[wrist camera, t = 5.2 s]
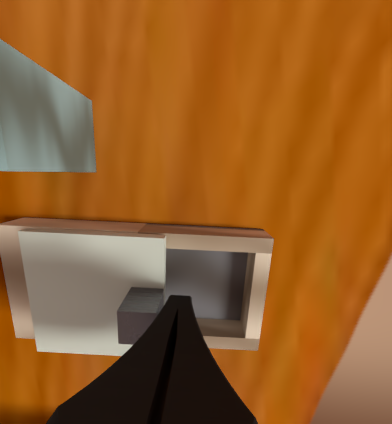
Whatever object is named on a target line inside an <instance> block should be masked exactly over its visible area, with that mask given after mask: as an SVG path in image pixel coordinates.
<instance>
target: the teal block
mask: <svg viewBox="0 0 392 424" xmlns="http://www.w3.org/2000/svg"><path fill="white" fill-rule="evenodd" d="M0 171H34V172H96V159H95V144H94V129H93V114H92V101H91V100H90V99H88V98H87V97H85V96H84V95H82V94H81V93H79V92H78V91H76V90H75V89H73V88H72V87H70V86H69V85H67V84H66V83H65V82H63V81H62V80H60V79H59V78H57V77H56V76H54V75H53V74H51V73H50V72H48V71H47V70H45V69H44V68H42V67H41V66H39V65H38V64H36V63H35V62H34V61H32V60H31V59H29V58H28V57H26V56H25V55H23V54H22V53H20V52H19V51H17V50H16V49H14V48H13V47H11V46H10V45H8V44H7V43H5V42H4V41H2V40H1V39H0Z"/></svg>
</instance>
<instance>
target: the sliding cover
mask: <svg viewBox="0 0 392 424" xmlns="http://www.w3.org/2000/svg"><path fill="white" fill-rule="evenodd" d="M18 236H19V242H20V249H21V255H22V261H23V267H24V273H25V279H26V285H27V291H28V297H29V303H30V310H31V316H32V322H33V328H34V334H35V340H36V346H37V351H40V352H59V353H77V354H96V355H115V356H122V355H123V354H124V353H126V352H127V351H128V350H129V349H130V348H131V347H132V345H133V344H134V343H135V342H136V341H137V340H138V339H139V338H140V337H141V336H142V334H143V333H144V332H145V331H146V330H147V328H148V327H149V326H150V325H151V323H152V322H153V321H154V319H155V318H156V317H157V315H158V314H159V312H160V311H161V309H162V308H163V306H164V305H165V282H166V235H155V234H135V233H115V232H95V231H75V230H55V229H35V228H26V229H23V230H20V231H18Z"/></svg>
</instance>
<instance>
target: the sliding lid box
mask: <svg viewBox="0 0 392 424" xmlns="http://www.w3.org/2000/svg"><path fill="white" fill-rule="evenodd" d="M26 228H35V229H55V230H75V231H95V232H115V233H135V234H155V235H166V282H165V303H166V301H167V300H168V298H169V296H170V295H184V296H191V297H192V305H193V309H194V313H195V317H196V319H197V322H198V325H199V328H200V330H201V333H202V335H203V338H204V340H205V342H206V344H207V346H208V348H218V349H237V350H256V351H258V346H259V339H260V332H261V325H262V318H263V311H264V304H265V297H266V290H267V283H268V276H269V269H270V262H271V255H272V248H273V241H274V238H272V237H271V236H270V235H269V234H268V233H267V232H265V231H264V230H263V229H249V228H229V227H209V226H189V225H169V224H149V223H129V222H109V221H88V220H68V219H48V218H28V217H24V218H20V219H16V220H12V221H8V222H4V223H0V255H1V261H2V266H3V271H4V276H5V282H6V287H7V292H8V297H9V303H10V308H11V313H12V319H13V324H14V329H15V334H16V338H30V339H35V334H34V328H33V322H32V316H31V310H30V303H29V297H28V291H27V285H26V279H25V273H24V267H23V261H22V255H21V249H20V242H19V236H18V231H20V230H23V229H26Z"/></svg>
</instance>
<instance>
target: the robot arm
mask: <svg viewBox="0 0 392 424" xmlns="http://www.w3.org/2000/svg"><path fill="white" fill-rule="evenodd" d="M46 424H258V422H257V420H256V418H255V417H254V415H253V414H252V413H251V412H250V410H249V409H248V408H247V407H246V405H245V404H244V403H243V401H242V400H241V399H240V397H239V396H238V395H237V393H236V392H235V391H234V389H233V388H232V386H231V385H230V383H229V382H228V380H227V379H226V377H225V376H224V374H223V373H222V371H221V369H220V368H219V366H218V365H217V363H216V361H215V359H214V358H213V356H212V354H211V352H210V350H209V348H208V346H207V344H206V342H205V340H204V338H203V335H202V333H201V330H200V328H199V325H198V322H197V319H196V317H195V313H194V309H193V305H192V297H191V296H184V295H170V296H169V298H168V300H167V301H166V303H165V305H164V306H163V308H162V309H161V311H160V312H159V314H158V315H157V317H156V318H155V319H154V321H153V322H152V323H151V325H150V326H149V327H148V328H147V330H146V331H145V332H144V333H143V334H142V336H141V337H140V338H139V339H138V340H137V341H136V342H135V343H134V344H133V345H132V347H131V348H130V349H129V350H128V351H127V352H126V353H124V354H123V355H122V356H121V357H120V358H119V359H118V360H117V361H116V362H115V363H114V364H113V365H112V366H111V367H109V368H108V369H107V370H106V371H105V372H103V373H102V374H101V375H100V376H99V377H97V378H96V379H95V380H94V381H93V382H91V383H90V384H89V385H87V386H86V387H85V388H83V389H82V390H81V391H79V392H78V393H77V394H75V395H74V396H72V397H71V398H70V399H68V400H67V401H66V402H64V403H63V404H61V405H60V406H58V407H57V409H56V410H55V412H54V413H53V415H52V416H51V417H50V419H49V420H48V421H47V423H46Z"/></svg>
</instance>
